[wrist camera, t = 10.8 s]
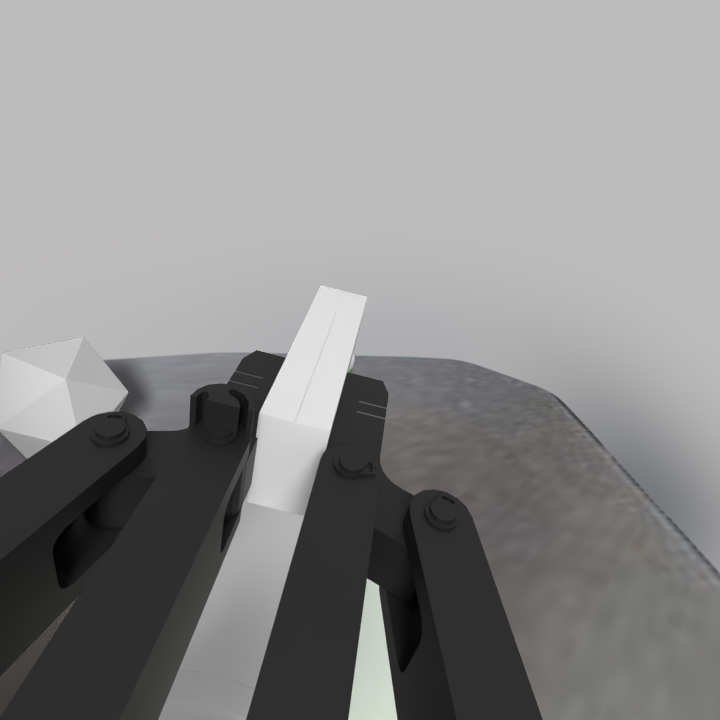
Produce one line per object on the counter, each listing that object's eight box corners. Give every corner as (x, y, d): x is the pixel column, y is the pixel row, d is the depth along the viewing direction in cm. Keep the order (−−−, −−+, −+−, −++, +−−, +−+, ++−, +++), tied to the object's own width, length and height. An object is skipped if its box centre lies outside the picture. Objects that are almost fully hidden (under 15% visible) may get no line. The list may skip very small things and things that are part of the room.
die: (108, 397, 44) (18, 315, 38) (171, 398, 39) (78, 306, 33) (40, 478, 39) (-76, 399, 33) (101, 491, 34) (-21, 401, 29)
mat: (416, 831, 24) (419, 828, 23) (43, 738, 23) (41, 733, 23) (424, 546, 37) (425, 542, 37) (187, 486, 37) (187, 481, 37)
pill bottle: (48, 732, 20) (194, 480, 33) (190, 827, 22) (272, 557, 35) (192, 673, 17) (287, 426, 30) (334, 787, 20) (363, 513, 33)
